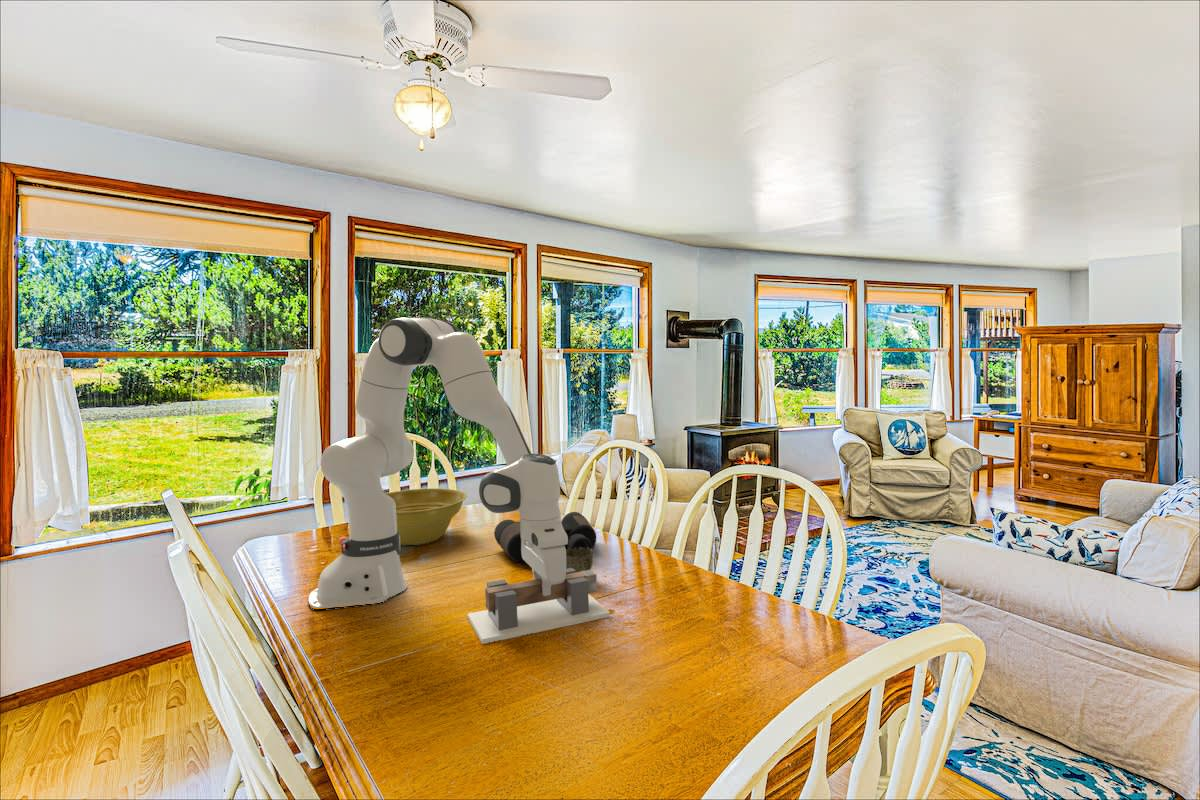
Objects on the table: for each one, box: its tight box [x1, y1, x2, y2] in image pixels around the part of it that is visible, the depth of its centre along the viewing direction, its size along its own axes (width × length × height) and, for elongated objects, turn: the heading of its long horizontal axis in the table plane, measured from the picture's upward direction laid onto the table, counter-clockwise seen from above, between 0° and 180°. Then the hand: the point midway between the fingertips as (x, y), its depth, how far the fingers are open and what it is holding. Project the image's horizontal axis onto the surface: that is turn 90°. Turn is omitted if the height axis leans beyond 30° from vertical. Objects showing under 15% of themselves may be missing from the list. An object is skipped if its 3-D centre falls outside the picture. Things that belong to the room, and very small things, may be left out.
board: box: [467, 568, 611, 645], centre depth 133 cm, size 28×14×8 cm, turn 114°
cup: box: [566, 547, 594, 572], centre depth 154 cm, size 8×7×8 cm
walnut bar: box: [484, 569, 598, 612], centre depth 133 cm, size 24×3×4 cm, turn 114°
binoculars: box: [493, 511, 597, 564], centre depth 177 cm, size 29×20×10 cm
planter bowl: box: [385, 487, 468, 546], centre depth 196 cm, size 32×32×13 cm
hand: (542, 591), depth 133 cm, fingers closed on walnut bar, 3 cm apart
